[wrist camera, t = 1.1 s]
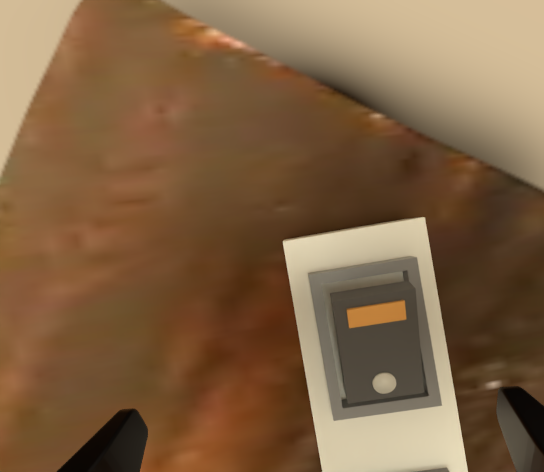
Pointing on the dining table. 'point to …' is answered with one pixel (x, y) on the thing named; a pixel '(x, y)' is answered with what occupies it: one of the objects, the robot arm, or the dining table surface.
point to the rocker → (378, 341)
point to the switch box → (326, 362)
